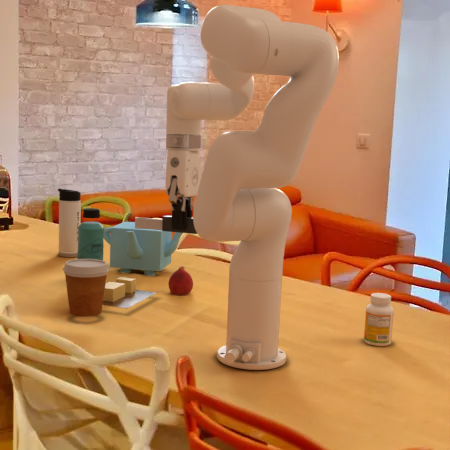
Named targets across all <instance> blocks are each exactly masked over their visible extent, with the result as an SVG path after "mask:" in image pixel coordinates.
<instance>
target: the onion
mask: <svg viewBox="0 0 450 450" xmlns="http://www.w3.org/2000/svg"><path fill="white" fill-rule="evenodd" d="M185 268H186V267H185V266H184V265H180V266H179V267H178V269H177V270H175V271H174V272H173V273H172V274H171V275H170V276H169V280H168V283H167V284H168V289H169V292H170V293H171V294H172V295H175V296H187V295H189V294H190V293H191V292H192V290H193V287H194V280H193V278H192V276H191V274H190V273H189V272H188V271H186V269H185Z"/></svg>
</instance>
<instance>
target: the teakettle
mask: <svg viewBox="0 0 450 450" xmlns="http://www.w3.org/2000/svg"><path fill="white" fill-rule="evenodd" d="M183 234H184V233H179V232H174V234H173V232H167V231H162V230H153V229H141V228H135V221H123V222H120V223H119V224H116V225H114V226H109V227H104V238H103V240H104V241H105V242H106V243H107V244H108V245H109V268H113V269H114V268H115V269H120V270H119V273H125V274H131V271H132V270H139V271H140V270H141V271H143V274H144V276H149V277H156V272H161V271H163V270H164V269H165V268H166V267H167V266H169V265H170V264H172V254H174V252H175V251H176V250H177V248H178V245H179V243H180V239H181V237H182V235H183Z"/></svg>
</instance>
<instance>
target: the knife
mask: <svg viewBox="0 0 450 450" xmlns="http://www.w3.org/2000/svg"><path fill="white" fill-rule="evenodd" d="M134 222H135V228H141V229H153V230H162V231H167V232H172V233H175V232H179V233H183V234H190V235H191V234H192V235H198V234H197V232H196V230H195V227H194V222H193V216H192V217H187V223H186V230H175V229H172V215H163V216H162V218H150V217H138V216H135V217H134Z"/></svg>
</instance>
